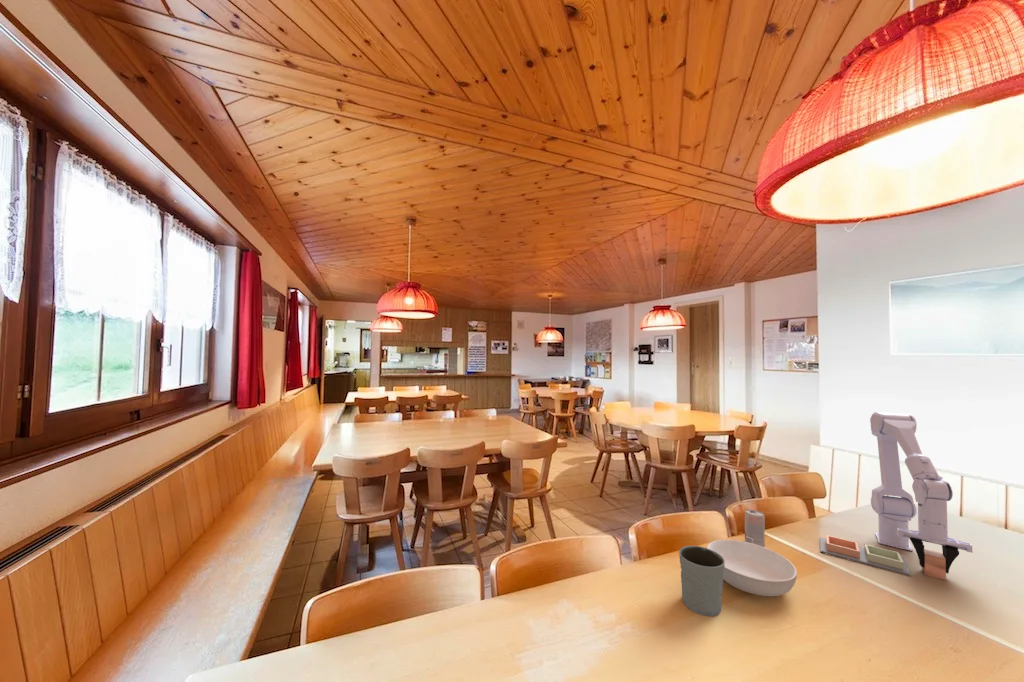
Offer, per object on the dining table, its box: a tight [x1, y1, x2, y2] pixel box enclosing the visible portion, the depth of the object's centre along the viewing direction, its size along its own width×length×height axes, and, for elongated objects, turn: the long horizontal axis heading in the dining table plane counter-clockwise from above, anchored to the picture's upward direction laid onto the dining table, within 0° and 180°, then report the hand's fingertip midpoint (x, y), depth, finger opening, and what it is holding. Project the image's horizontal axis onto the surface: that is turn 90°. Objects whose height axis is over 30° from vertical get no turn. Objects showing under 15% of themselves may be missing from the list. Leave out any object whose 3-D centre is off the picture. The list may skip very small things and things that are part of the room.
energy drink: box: [744, 509, 766, 548], centre depth 121 cm, size 5×5×12 cm
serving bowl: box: [706, 539, 798, 597], centre depth 103 cm, size 21×21×7 cm
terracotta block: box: [921, 548, 947, 581], centre depth 110 cm, size 4×4×6 cm
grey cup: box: [678, 545, 725, 617], centre depth 93 cm, size 10×10×12 cm
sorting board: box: [819, 534, 912, 577], centre depth 119 cm, size 12×20×3 cm, turn 52°
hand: (933, 568), depth 109 cm, fingers closed on terracotta block, 4 cm apart
